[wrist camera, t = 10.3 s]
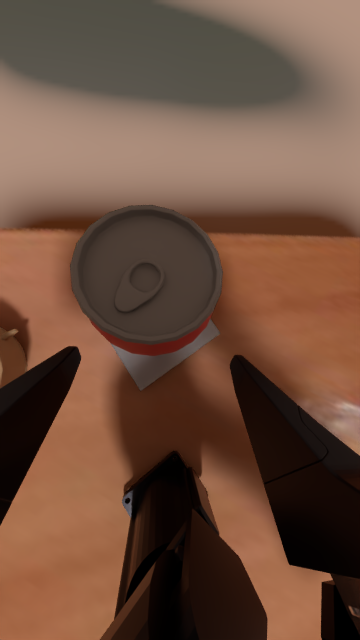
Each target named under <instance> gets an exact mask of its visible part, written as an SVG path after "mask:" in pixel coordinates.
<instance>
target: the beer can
mask: <svg viewBox="0 0 360 640" xmlns="http://www.w3.org/2000/svg"><path fill="white" fill-rule="evenodd" d="M70 272H71V283H72V291H73V293H74V295H75V297H76V299H77V301H78V303H79V305H80V307H81V309H82V311H83V313H84V314H85V315H86V316H87V317H88V318H89V319H90V321H91V323H92V325H93V326H94V327H95V328H96V329H97V330H98V331H99V332H100V333H101V334H102V335H103V336H104V337H105V338H106V339H107V340H108V341H109V342H110V343H111V344H113V345H115V346H117V347H119V348H121V349H123V350H126V351H128V352H130V353H132V354H140V355H149V356H157V355H162V354H167V353H172V352H176V351H177V350H179V349H181V348H183V347H184V346H186V345H188V344H190V343H192V342H193V341H194V340H195V339H196V338H197V337H198V336H199V334H200V333H201V332H202V331H203V330H204V329H205V328H206V326H207V324H208V322H209V320H210V318H211V315H212V313H213V311H214V309H215V306H216V303H217V301H218V299H219V297H220V294H221V289H222V276H223V271H222V267H221V263H220V258H219V254H218V251H217V250H216V248H215V246H214V245H213V243H212V241H211V240H210V238H209V236H208V235H207V234H206V233H205V232H204V231H203V230H202V229H201V228H200V227H199V226H198V225H197V224H196V223H195V222H193V221H192V220H191V219H189V218H187V217H185V216H183V215H181V214H179V213H178V212H176V211H174V210H170V209H167V208H162V207H158V206H154V205H141V206H139V205H138V206H128V207H125V208H122V209H118V210H115V211H112V212H109V213H107V214H106V215H104V216H103V217H102V218H100V219H99V220H97V221H96V222H94V223H93V224H92V225H90V226H89V227H88V229H87V230H86V232H85V233H84V234H83V236H82V237H81V238H80V240H79V241H78V242H77V244H76V247H75V250H74V254H73V257H72V261H71V264H70Z"/></svg>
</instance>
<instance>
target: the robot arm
mask: <svg viewBox="0 0 360 640" xmlns="http://www.w3.org/2000/svg"><path fill="white" fill-rule="evenodd" d="M80 361H81V355H80V352H79V349H78V347H76V346H68V347H66V348H64V349H63V350H61V351H60V352H58V353H56V354H55V355H53V356H51V357H50V358H48V359H47V360H45V361H43V362H42V363H40V364H39V365H37V366H35V367H34V368H32V369H30V370H29V371H27V372H26V373H24V374H22V375H21V376H19V377H18V378H16V379H14V380H13V381H11V382H9V383H8V384H6V385H5V386H3V387H1V388H0V525H1V523H2V521H3V519H4V517H5V515H6V513H7V511H8V509H9V508H10V506H11V504H12V501H13V499H14V497H15V495H16V493H17V492H18V490H19V488H20V486H21V484H22V482H23V480H24V478H25V476H26V474H27V472H28V470H29V468H30V466H31V464H32V462H33V460H34V458H35V456H36V454H37V452H38V450H39V448H40V446H41V444H42V443H43V441H44V439H45V437H46V435H47V433H48V431H49V429H50V427H51V425H52V423H53V421H54V419H55V417H56V415H57V413H58V411H59V409H60V407H61V405H62V403H63V401H64V399H65V397H66V395H67V393H68V391H69V389H70V387H71V385H72V382H73V380H74V377H75V374H76V372H77V369H78V367H79V364H80ZM230 370H231V375H232V380H233V385H234V389H235V393H236V396H237V400H238V403H239V406H240V409H241V412H242V416H243V419H244V422H245V425H246V429H247V432H248V435H249V438H250V441H251V445H252V448H253V451H254V454H255V457H256V461H257V464H258V467H259V470H260V474H261V477H262V480H263V483H264V487H265V490H266V493H267V496H268V500H269V503H270V506H271V509H272V512H273V516H274V519H275V522H276V525H277V528H278V532H279V535H280V538H281V541H282V545H283V548H284V551H285V554H286V557H287V560H288V563H289V565H293V566H297V567H302V568H307V569H312V570H317V571H322V572H327V573H330V574H331V576H332V578H333V580H331V581H325V582H322V601H321V638H322V640H360V456H359V455H358V454H357V453H355V452H354V451H353V450H352V449H350V448H349V447H348V446H347V445H345V444H344V443H343V442H342V441H340V440H339V439H338V438H337V437H335V436H334V435H333V434H332V433H330V432H329V431H328V430H327V429H325V428H324V427H323V426H322V425H321V424H319V423H318V422H317V421H316V420H315V419H313V418H312V417H311V416H310V415H309V414H308V413H306V412H305V411H304V410H303V409H302V408H301V407H300V406H298V405H297V404H296V403H295V402H294V401H293V400H292V399H291V398H289V397H288V396H287V395H286V394H285V393H284V392H283V391H282V390H280V389H279V388H278V387H277V386H276V385H275V384H274V383H272V382H271V381H270V380H269V379H268V378H267V377H266V376H265V375H263V374H262V373H261V372H260V371H259V370H258V369H257V368H256V367H254V366H253V365H252V364H251V363H250V362H249V361H248V360H247V359H245V358H244V357H243V356H242V355H234V357H233V359H232V361H231V363H230ZM174 456H176V457H177V458H176V459H173V457H174ZM126 498H130V499H129V500H127V499H126ZM122 503H123V506H124V507H125V509H126V511H127V513H128V514H129V516H130V518H131V520H130V526H129V532H128V538H127V544H126V550H125V556H124V562H123V568H122V575H121V581H120V587H119V593H118V599H117V605H116V611H115V617H114V621H113V622H112V623H111V625H110V626H109V628H108V629H107V630H106V632H105V633H104V635H103V636H102V638H101V639H100V640H267V615H266V612H265V610H264V608H263V605H262V603H261V601H260V599H259V597H258V595H257V593H256V591H255V589H254V586H253V584H252V582H251V580H250V578H249V576H248V574H247V572H246V570H245V567H244V565H243V563H242V561H241V559H240V558H239V556H238V555H237V554H236V553H235V552H234V551H233V550H232V549H231V548H230V547H229V546H228V545H227V544H226V542H225V541H224V540H223V539H222V538H221V537H220V536H219V531H218V528H217V525H216V522H215V518H214V515H213V512H212V509H211V506H210V503H209V500H208V497H207V493H206V490H205V488H204V486H203V484H202V483H201V481H200V480H199V478H198V477H197V475H196V473H195V472H194V470H193V469H192V467H187V465H186V464H185V462H184V461H183V459H182V457H181V456H180V454H179V453H178V452H177V451H173V452H172V453H170V454H169V455H168V456H167V457H166V458H165V459H164V460H162V461H161V462H160V463H159V464H158V465H157V466H155V467H154V468H153V469H152V470H151V471H150V472H148V473H147V474H146V475H145V476H144V477H143V478H141V479H140V480H139V481H138V482H137V483H136V484H134V485H133V486H132V487H131V488H130V489H129V490H128V491H126V492H125V494H124V496H123V500H122Z"/></svg>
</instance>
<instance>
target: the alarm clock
mask: <svg viewBox="0 0 360 640" xmlns="http://www.w3.org/2000/svg"><path fill="white" fill-rule="evenodd" d="M17 332H18V330H17V329H12V330H10V331H6V330H4V329H3V328H2V327H0V388H1V387H3V386H5V385H6V384H8V383H9V382H11V381H13V380H14V379H16V378H18V377H19V376H21V375H22V374H24V373H26V371H27V362H26V358H25V354H24V349H23V348H22V346H21V345H20V344H19V342H18V341H17V339H16V338H15V336H14V335H15V334H16V333H17Z"/></svg>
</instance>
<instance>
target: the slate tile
mask: <svg viewBox="0 0 360 640" xmlns="http://www.w3.org/2000/svg"><path fill="white" fill-rule="evenodd" d="M219 334H220V332H219V330H218V329H217V327H216V326H215V324H214V323H213V322H212V320H211V319H210V320H209V322H208V324H207V326H206V328H205V329H204V330H203V331H202V332H201V333H200V334H199V336H198V337H197V338H196V339H195V340H194V341H193V342H192V343H190V344H188V345H186V346H184V347H183V348H181V349H179V350H177V351H176V352H172V353H167V354H162V355H157V356H149V355H140V354H132V353H130V352H128V351H126V350H123V349H121V348H119V347H117V346H115V345H113V344H111V345H112V346H113V348H114V349H115V351H116V353H117V354H118V356H119V357H120V359H121V361H122V362H123V364H124V365H125V367H126V369H127V370H128V372H129V373H130V375H131V377H132V378H133V380H134V381H135V383H136V385H137V386H138V388H139V389H140V391H142V390H143V389H144V388H146V387H147V386H148V385H150V384H151V383H153V382H154V381H155V380H157V379H158V378H160V377H161V376H162V375H164V374H165V373H166V372H168V371H169V370H171V369H172V368H173V367H175V366H176V365H178V364H179V363H180V362H182V361H183V360H184V359H186V358H187V357H189V356H190V355H191V354H193V353H194V352H196V351H197V350H198V349H200V348H201V347H202V346H204V345H205V344H207V343H208V342H209V341H211V340H212V339H213V338H215V337H216V336H218V335H219Z"/></svg>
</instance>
